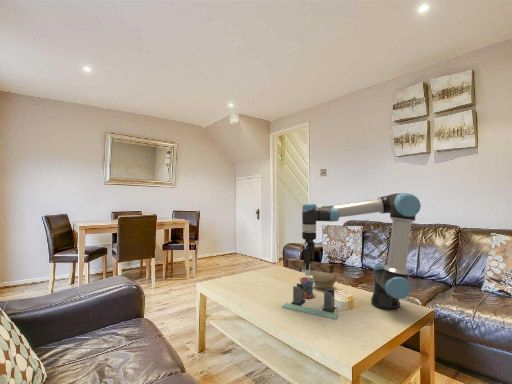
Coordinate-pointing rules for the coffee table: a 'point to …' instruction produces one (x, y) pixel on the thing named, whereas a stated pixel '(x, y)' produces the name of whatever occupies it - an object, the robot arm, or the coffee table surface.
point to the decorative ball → (324, 279)
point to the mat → (311, 311)
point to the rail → (313, 265)
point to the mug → (308, 286)
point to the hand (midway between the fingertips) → (309, 274)
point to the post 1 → (298, 295)
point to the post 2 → (329, 301)
